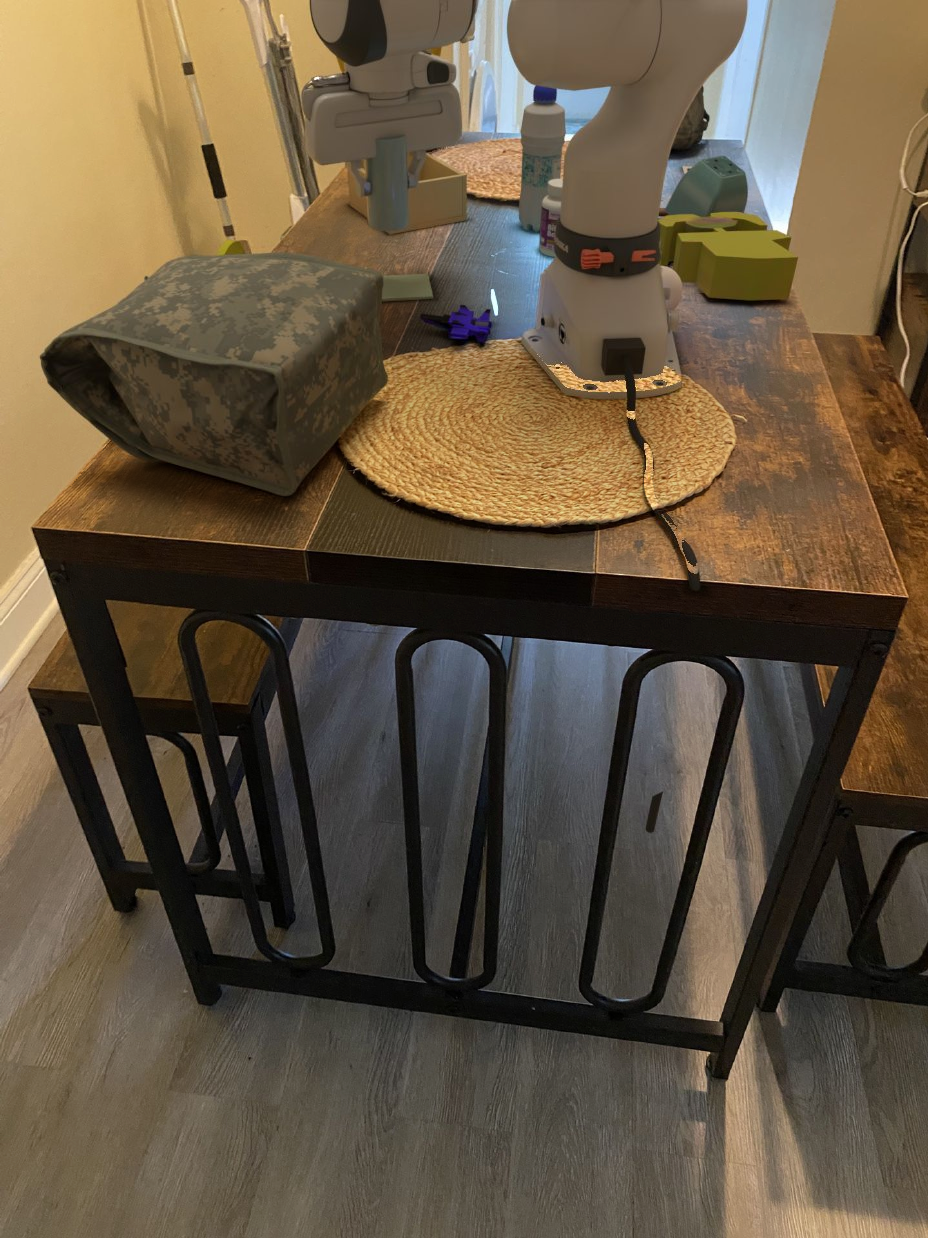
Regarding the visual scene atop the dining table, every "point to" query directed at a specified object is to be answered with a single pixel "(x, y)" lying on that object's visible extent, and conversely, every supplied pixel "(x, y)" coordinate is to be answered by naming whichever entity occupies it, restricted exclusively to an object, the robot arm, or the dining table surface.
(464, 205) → the chest
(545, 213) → the pill bottle
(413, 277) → the mat
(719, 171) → the flower pot
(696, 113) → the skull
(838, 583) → the dining table surface
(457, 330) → the toy spaceship
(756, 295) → the toy
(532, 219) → the bottle
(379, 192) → the grey cylinder
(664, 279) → the egg
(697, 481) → the dining table surface
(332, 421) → the lunch bag
